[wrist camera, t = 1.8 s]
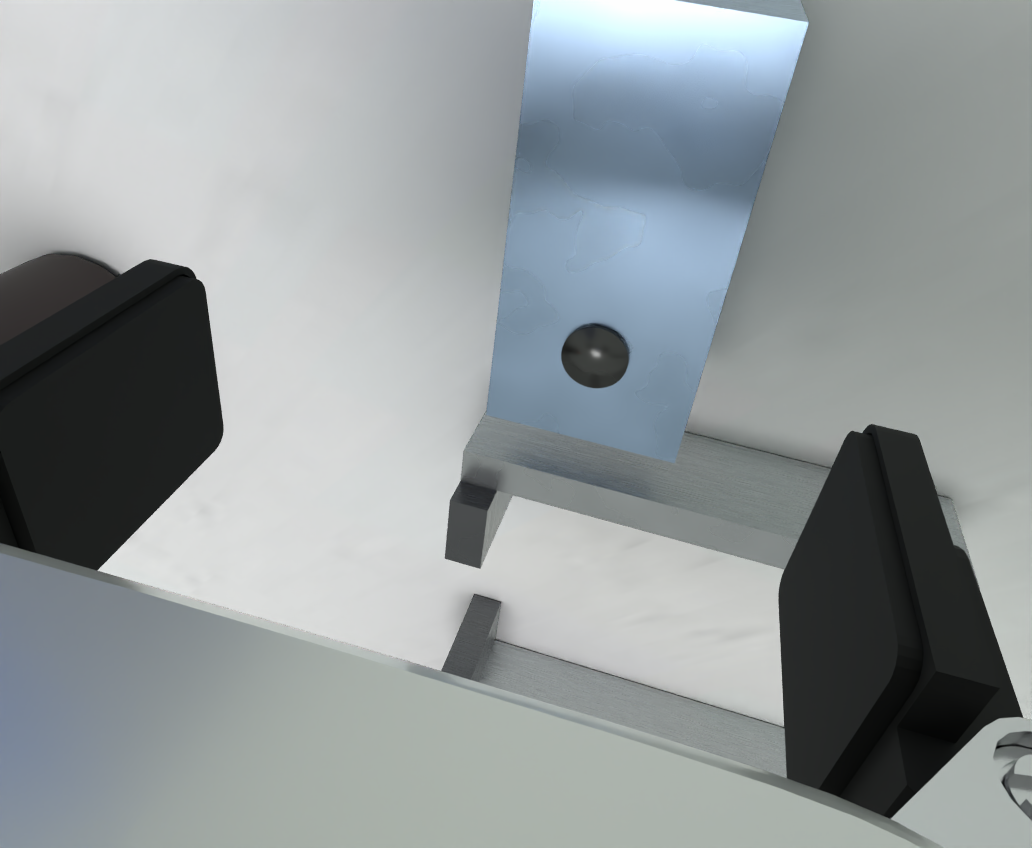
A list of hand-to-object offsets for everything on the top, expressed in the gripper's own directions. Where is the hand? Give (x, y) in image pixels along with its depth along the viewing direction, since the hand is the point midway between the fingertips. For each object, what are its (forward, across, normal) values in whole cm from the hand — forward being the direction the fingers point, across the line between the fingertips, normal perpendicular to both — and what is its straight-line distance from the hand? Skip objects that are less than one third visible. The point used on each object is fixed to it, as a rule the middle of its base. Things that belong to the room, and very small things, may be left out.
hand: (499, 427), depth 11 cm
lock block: (+13, -1, 0) cm, 13 cm away
